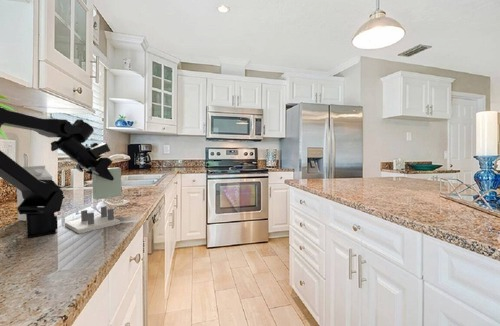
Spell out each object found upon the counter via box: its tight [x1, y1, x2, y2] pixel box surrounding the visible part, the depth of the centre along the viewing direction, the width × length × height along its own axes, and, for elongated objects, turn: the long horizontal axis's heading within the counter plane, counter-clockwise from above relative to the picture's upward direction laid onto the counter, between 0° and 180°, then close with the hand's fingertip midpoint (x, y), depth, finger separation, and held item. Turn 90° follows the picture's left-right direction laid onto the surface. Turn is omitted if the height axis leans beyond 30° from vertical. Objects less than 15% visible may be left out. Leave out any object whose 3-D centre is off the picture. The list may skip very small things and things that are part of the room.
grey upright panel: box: [91, 167, 123, 200], centre depth 93 cm, size 9×3×11 cm, turn 143°
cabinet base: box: [64, 206, 121, 234], centre depth 81 cm, size 12×12×5 cm
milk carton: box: [16, 165, 53, 222], centre depth 88 cm, size 7×7×19 cm
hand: (111, 179), depth 94 cm, fingers closed on grey upright panel, 3 cm apart
